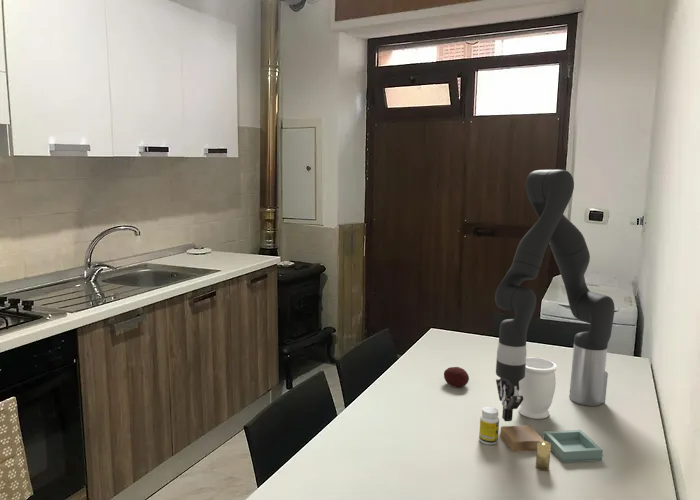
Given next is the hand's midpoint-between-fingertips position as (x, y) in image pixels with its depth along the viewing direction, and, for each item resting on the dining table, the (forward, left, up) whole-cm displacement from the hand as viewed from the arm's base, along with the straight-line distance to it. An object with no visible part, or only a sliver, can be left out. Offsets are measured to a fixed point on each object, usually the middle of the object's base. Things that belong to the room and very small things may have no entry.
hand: (507, 419), depth 149 cm
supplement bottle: (+8, +7, -2) cm, 11 cm away
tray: (-11, +14, -2) cm, 18 cm away
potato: (+5, -28, -2) cm, 29 cm away
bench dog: (0, +20, -2) cm, 20 cm away
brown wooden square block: (0, +9, -2) cm, 9 cm away
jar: (-11, -7, -2) cm, 13 cm away
